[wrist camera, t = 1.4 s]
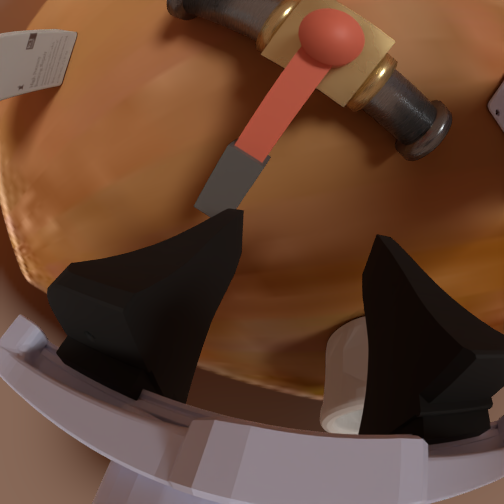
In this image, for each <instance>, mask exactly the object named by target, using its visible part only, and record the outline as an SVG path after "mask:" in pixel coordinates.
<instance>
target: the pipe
mask: <svg viewBox="0 0 504 504" xmlns="http://www.w3.org/2000/svg"><path fill="white" fill-rule="evenodd" d="M282 1H283V0H167V9H168V12H169V13H170V14H171V15H172V16H174V17H177V18H180V19H183V20H191V19H194V18H196V17H197V16H199V17H201V18H204V19H207V20H209V21H212V22H215V23H217V24H220V25H222V26H224V27H227V28H229V29H231V30H234V31H236V32H238V33H240V34H242V35H245V36H247V37H249V38H251V39H253V40H255V41H256V40H257V37H258V35H259V32H260V30H261V28H262V26H263V24H264V23H265V21H266V20H267V18H268V17H269V15H270V14H271V13H272V11H273V10H274V9H275V8H276V7H277V6H278V5H279V3H281V2H282ZM362 109H363V110H364V111H365V112H366V113H368V114H369V115H370V116H371V117H373V118H374V119H375V120H376V121H377V122H378V123H380V124H381V125H382V126H383V127H384V128H385V129H386V130H387V131H389V132H390V133H391V134H392V135H393V136H394V137H395V138H396V142H395V148H396V150H397V151H398V152H399V153H400V154H401V155H402V156H403V157H404V158H405V159H406V160H408V161H415V160H418V159H420V158H422V157H424V156H426V155H427V154H429V153H430V152H431V151H433V150H434V149H435V148H436V147H437V146H438V145H439V144H440V143H441V141H442V140H443V139H444V138H445V136H446V134H447V133H448V131H449V129H450V126H451V123H452V114H451V112H450V111H449V110H448V109H447V107H446V106H445V105H444V104H443V103H442V102H441V101H438V100H435V101H431V102H430V101H429V100H428V99H427V98H426V97H425V96H424V95H423V94H422V93H421V92H420V91H419V90H418V89H417V88H416V87H415V86H414V85H413V84H412V83H411V82H409V81H408V80H407V79H406V78H405V77H404V76H403V75H402V74H401V73H399V72H398V71H397V70H396V69H395V70H394V72H393V74H392V75H391V77H390V78H389V79H388V81H387V82H386V83H385V85H384V86H383V87H382V88H381V90H380V91H379V92H378V93H377V94H376V95H375V96H374V97H373V98H372V100H371V101H370V102H369V103H367V104H366V105H365V106H364V107H363V108H362Z"/></svg>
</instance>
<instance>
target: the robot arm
mask: <svg viewBox="0 0 504 504" xmlns="http://www.w3.org/2000/svg"><path fill="white" fill-rule="evenodd" d="M488 109H489V111H490V113H491V114H492V115H493V117H494V118H495V120H496V121H497V123H498V124H499V126H500V127H501V129H502V131H503V132H504V81H503V82H502V84H501V85H500V87H499V88H498V90H497V91H496V93H495V94H494V95H493V97H492V98H491V100H490V101H489V103H488ZM496 110H497V111H498V114H497V115H496ZM243 212H244V210H237V209H230V208H228V209H226V210H224V211H222V212H220V213H218V214H216V215H215V216H213V217H211V218H209V219H208V220H206V221H204V222H202V223H200V224H199V225H197V226H195V227H193V228H191V229H189V230H187V231H185V232H183V233H181V234H179V235H177V236H174V237H172V238H170V239H167V240H165V241H162V242H160V243H157V244H155V245H152V246H149V247H145V248H142V249H139V250H136V251H133V252H129V253H125V254H121V255H117V256H113V257H108V258H103V259H97V260H90V261H83V262H76V263H71V264H70V265H69V266H68V267H67V268H66V269H65V270H64V271H63V272H62V273H61V274H60V275H59V276H58V277H57V278H56V280H55V281H54V282H53V283H52V284H51V285H50V286H49V287H48V290H47V297H48V301H49V304H50V306H51V308H52V311H53V312H54V314H55V316H56V318H57V319H58V321H59V323H60V324H61V326H62V328H63V329H64V331H65V333H66V334H67V337H66V339H65V340H64V342H63V343H62V344H61V346H60V347H57V346H56V345H54V344H53V343H51V342H49V341H48V338H47V337H46V335H45V333H44V332H43V331H42V329H41V328H40V327H39V326H38V325H37V324H35V323H34V322H32V321H31V320H29V319H28V318H26V317H25V316H23V315H19V316H18V317H17V318H16V319H15V321H14V322H13V323H12V325H11V326H10V327H9V328H8V330H7V331H6V332H5V333H4V335H3V336H2V337H1V339H0V377H1V378H3V380H4V381H5V382H6V383H7V384H8V385H9V386H10V387H11V388H13V389H14V390H15V391H16V392H17V393H18V394H19V395H20V396H21V397H22V398H23V399H24V400H26V401H27V402H28V403H29V404H30V405H31V406H33V407H34V408H35V409H36V410H37V411H39V412H40V413H41V414H42V415H43V416H45V417H46V418H47V419H49V420H50V421H51V422H53V423H54V424H55V425H57V426H58V427H59V428H61V429H62V430H64V431H65V432H67V433H68V434H69V435H71V436H72V437H74V438H75V439H77V440H78V441H80V442H81V443H83V444H85V445H86V446H88V447H90V448H91V449H93V450H94V451H96V452H98V453H100V454H101V455H103V456H105V457H107V458H109V459H110V460H111V462H110V464H109V466H108V468H107V471H106V473H105V475H104V477H103V480H102V482H101V484H100V486H99V489H98V491H97V493H96V496H95V498H94V500H93V503H92V504H430V503H434V502H437V501H441V500H445V499H448V498H451V497H454V496H458V495H460V494H464V493H466V492H469V491H472V490H475V489H477V488H480V487H482V486H485V485H487V484H489V483H492V482H494V481H496V480H498V479H501V478H503V477H504V415H503V416H502V417H501V418H499V420H498V421H494V422H490V419H489V414H488V409H490V408H491V407H492V405H493V402H492V398H491V397H492V396H493V395H494V394H496V393H497V392H498V391H499V390H500V389H501V388H502V387H503V386H504V335H503V334H502V333H500V332H498V331H496V330H495V329H493V328H491V327H490V326H488V325H487V324H485V323H484V322H482V321H481V320H479V319H478V318H477V317H475V316H474V315H473V314H471V313H470V312H469V311H467V310H466V309H465V308H464V307H462V306H461V305H460V304H458V303H457V302H456V301H455V300H454V299H452V298H451V297H450V296H449V295H448V294H447V293H446V292H445V291H444V290H442V289H441V288H440V287H439V286H438V285H437V284H436V283H435V282H434V281H433V280H432V279H431V278H430V277H429V276H428V275H427V274H426V273H425V272H424V271H423V270H422V269H421V268H420V267H419V266H418V264H417V263H416V262H415V261H414V260H413V259H412V258H411V257H410V256H409V255H408V254H407V253H406V252H405V251H404V249H403V248H402V247H401V246H400V245H399V244H398V243H397V242H396V241H394V240H393V239H392V238H391V237H387V236H382V235H378V234H377V235H376V238H375V241H374V244H373V247H372V249H371V252H370V255H369V258H368V261H367V263H366V266H365V269H364V272H363V274H362V292H363V303H364V311H365V319H366V327H367V336H368V372H367V384H366V393H365V400H364V407H363V413H362V418H361V423H360V428H359V433H358V435H357V434H338V433H324V432H315V431H306V430H298V429H291V428H284V427H278V426H272V425H267V424H261V423H256V422H251V421H246V420H242V419H237V418H233V417H229V416H225V415H221V414H217V413H214V412H210V411H206V410H203V409H200V408H196V407H193V406H190V405H186V401H187V397H188V393H189V390H190V386H191V382H192V379H193V376H194V372H195V369H196V366H197V362H198V359H199V356H200V353H201V350H202V347H203V344H204V341H205V338H206V335H207V333H208V330H209V327H210V324H211V321H212V319H213V317H214V315H215V312H216V310H217V308H218V306H219V304H220V302H221V300H222V298H223V296H224V294H225V292H226V290H227V288H228V286H229V284H230V282H231V280H232V278H233V276H234V274H235V271H236V268H237V265H238V262H239V259H240V256H241V253H242V233H243Z"/></svg>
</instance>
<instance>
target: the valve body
mask: <svg viewBox="0 0 504 504" xmlns="http://www.w3.org/2000/svg"><path fill="white" fill-rule="evenodd" d="M324 8H330V9H337V10H340V11H343V12H345V13H347V14H349V15H350V16H351V17H353V18H354V19H355V20H356V21H357V22H358V23H359V25H360V26H361V28H362V30H363V33H364V37H365V43H364V48H363V50H362V52H361V53H360V55H359V56H358V57H357V58H356V59H354V60H353V61H352V62H350V63H349V64H347V65H345V66H343V67H339V68H331V69H330V70H329V71H328V73H327V74H326V75H325V77H324V78H323V79H322V80H321V82H320V83H319V84H318V86H317V87H316V89H318V90H319V91H321V92H322V93H323V94H325V95H326V96H328V97H329V98H331V99H332V100H333V101H335V102H336V103H338V104H339V105H341V106H342V107H344V106H347V107H348V108H349V109H351V110H352V111H353V112H357V111H359V110H360V109H362V108H363V107H364V106H365V105H366V104H367V103H369V102H370V101H371V100H372V98H373V97H374V96H375V95H376V94H377V93H378V92H379V91H380V90H381V88H382V87H383V86H384V85H385V83H386V82H387V81H388V79H389V78H390V77H391V75H392V74H393V72H394V70H395V68H396V66H397V61H396V60H395V59H394V58H393V57H391V56H390V55H389V54H388V53H387V52H388V51H389V49H390V48H391V47H392V46H393V45H394V43H395V41H394V40H393V39H392V38H390V37H389V36H388V35H386V34H385V33H384V32H382V31H381V30H380V29H378V28H377V27H376V26H374V25H373V24H371V23H370V22H369V21H367V20H366V19H364V18H363V17H361V16H360V15H358V14H357V13H355V12H354V11H352V10H350V9H349V8H347V7H346V6H344V5H342V4H340V3H339V2H337V1H335V0H283V1H282V2H281V3H279V5H278V6H277V7H276V8H275V9H274V10H273V11H272V13H271V14H270V15H269V17H268V18H267V20H266V21H265V23H264V24H263V26H262V28H261V30H260V32H259V35H258V37H257V40H256V49H257V50H258V51H260V52H262V53H261V55H262V56H264V57H266V58H267V59H269V60H271V61H272V62H274V63H276V64H278V65H279V66H281V67H283V68H284V69H285V68H286V66H287V65H288V63H289V62H290V61H291V59H292V58H293V57H294V55H295V54H296V53H297V51H298V50H299V49H300V47H301V43H300V40H299V34H298V31H299V26H300V23H301V21H302V20H303V18H304V17H305V16H306V15H308V14H309V13H311V12H313V11H315V10H318V9H324Z"/></svg>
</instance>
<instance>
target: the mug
mask: <svg viewBox="0 0 504 504" xmlns="http://www.w3.org/2000/svg"><path fill="white" fill-rule="evenodd" d="M367 372H368V336H367V327H366V319H365V316H364V317H360V318H357V319H355V320H352V321H350V322H348V323H346V324H345V325H343V326H341V327H340V328H339V329H337V330H336V331H335V332H334V333H333V334H332V335H331V337H330V338H329V340H328V342H327V347H326V368H325V388H324V398H323V406H322V408H321V412H320V423H321V425H322V427H323V428H324V429H325V430H326V431H327V432H329V433H338V434H357V435H358V433H359V428H360V423H361V418H362V413H363V407H364V400H365V393H366V384H367Z"/></svg>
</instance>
